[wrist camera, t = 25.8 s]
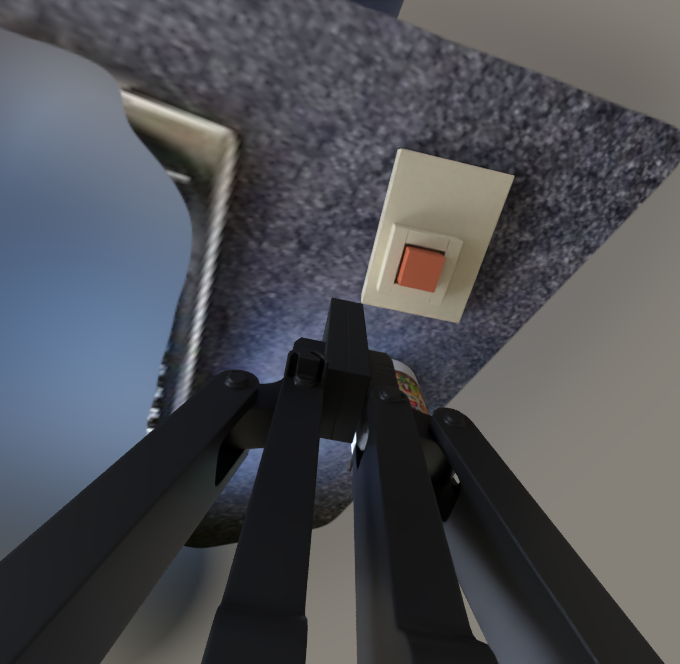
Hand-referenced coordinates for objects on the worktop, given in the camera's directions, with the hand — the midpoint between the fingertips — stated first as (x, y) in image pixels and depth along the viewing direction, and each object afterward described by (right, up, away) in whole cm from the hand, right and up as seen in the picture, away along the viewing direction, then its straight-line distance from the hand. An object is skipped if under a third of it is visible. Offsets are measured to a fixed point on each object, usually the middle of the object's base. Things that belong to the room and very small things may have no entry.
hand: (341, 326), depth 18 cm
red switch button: (+7, +6, +16) cm, 18 cm away
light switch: (+8, +9, +18) cm, 22 cm away
